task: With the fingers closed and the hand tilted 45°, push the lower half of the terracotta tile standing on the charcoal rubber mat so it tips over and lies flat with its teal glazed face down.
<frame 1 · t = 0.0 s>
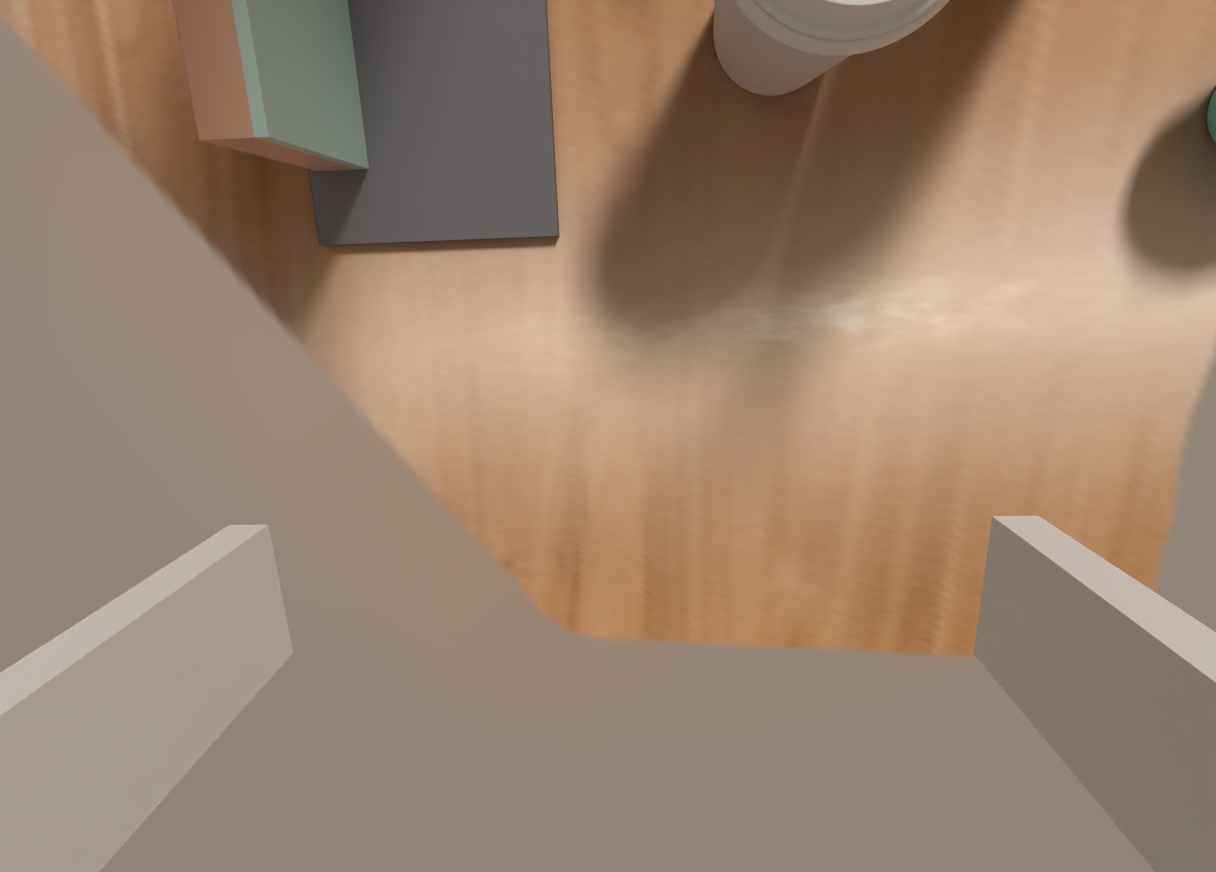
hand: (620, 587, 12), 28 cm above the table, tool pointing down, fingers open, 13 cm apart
coffee cup: (774, 29, 34), on the table
mat: (423, 69, 35), on the table
tile: (329, 71, 35), point 1 cm above the table, touching mat
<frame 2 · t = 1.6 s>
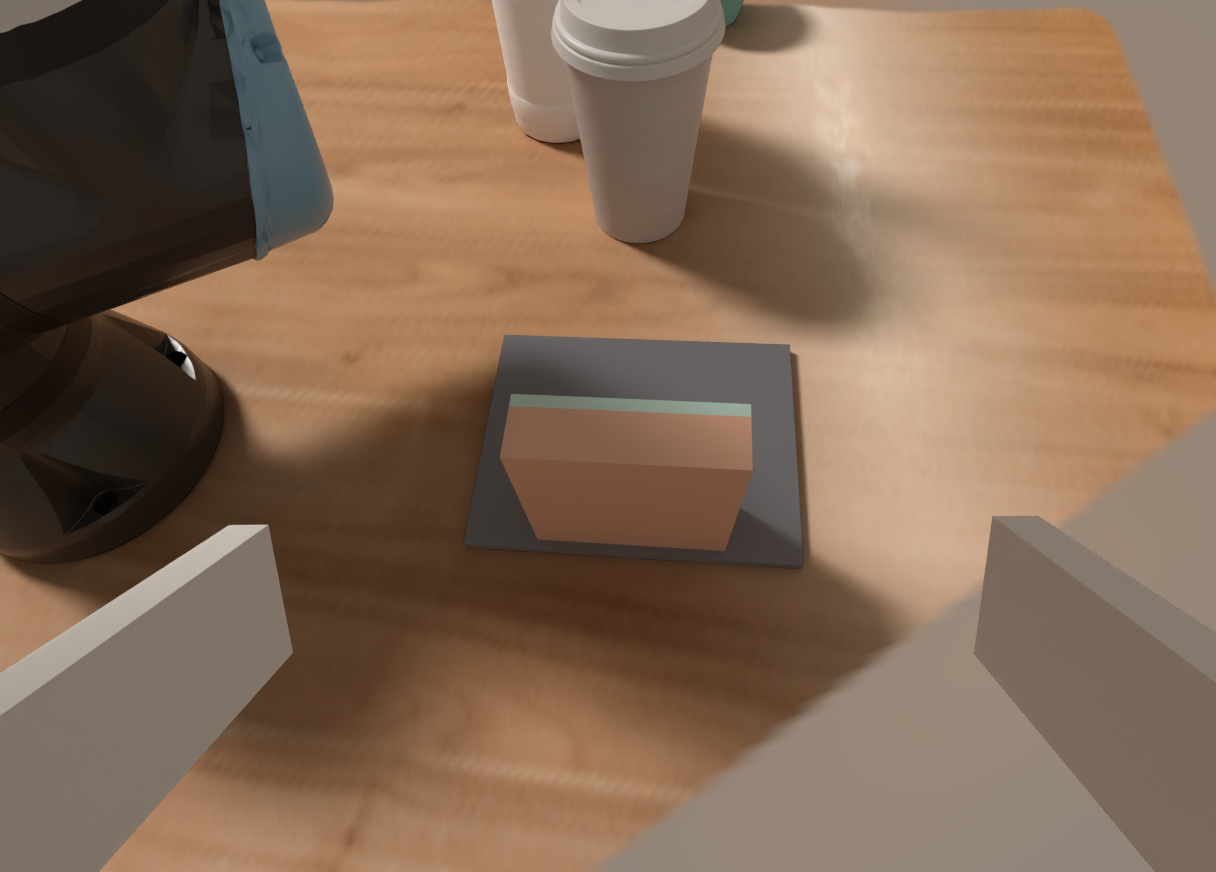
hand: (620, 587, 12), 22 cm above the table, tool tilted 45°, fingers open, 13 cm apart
bottle: (562, 115, 52), on the table
cupcake: (711, 16, 58), on the table
coffee cup: (640, 212, 47), on the table
mat: (637, 442, 38), on the table
tile: (631, 518, 35), point 1 cm above the table, touching mat
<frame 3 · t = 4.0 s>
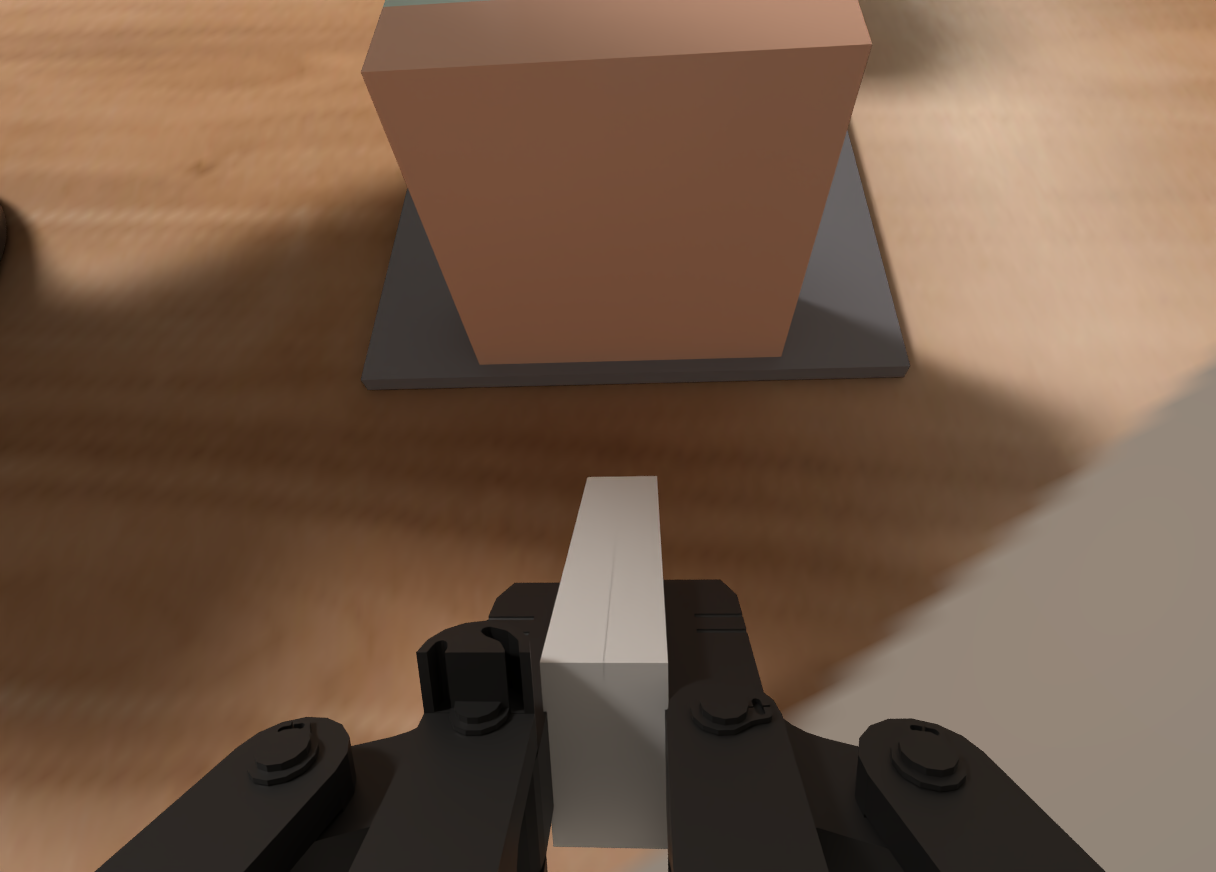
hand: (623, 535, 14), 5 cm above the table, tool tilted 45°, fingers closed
mat: (628, 233, 25), on the table
tile: (628, 325, 22), point 1 cm above the table, touching mat
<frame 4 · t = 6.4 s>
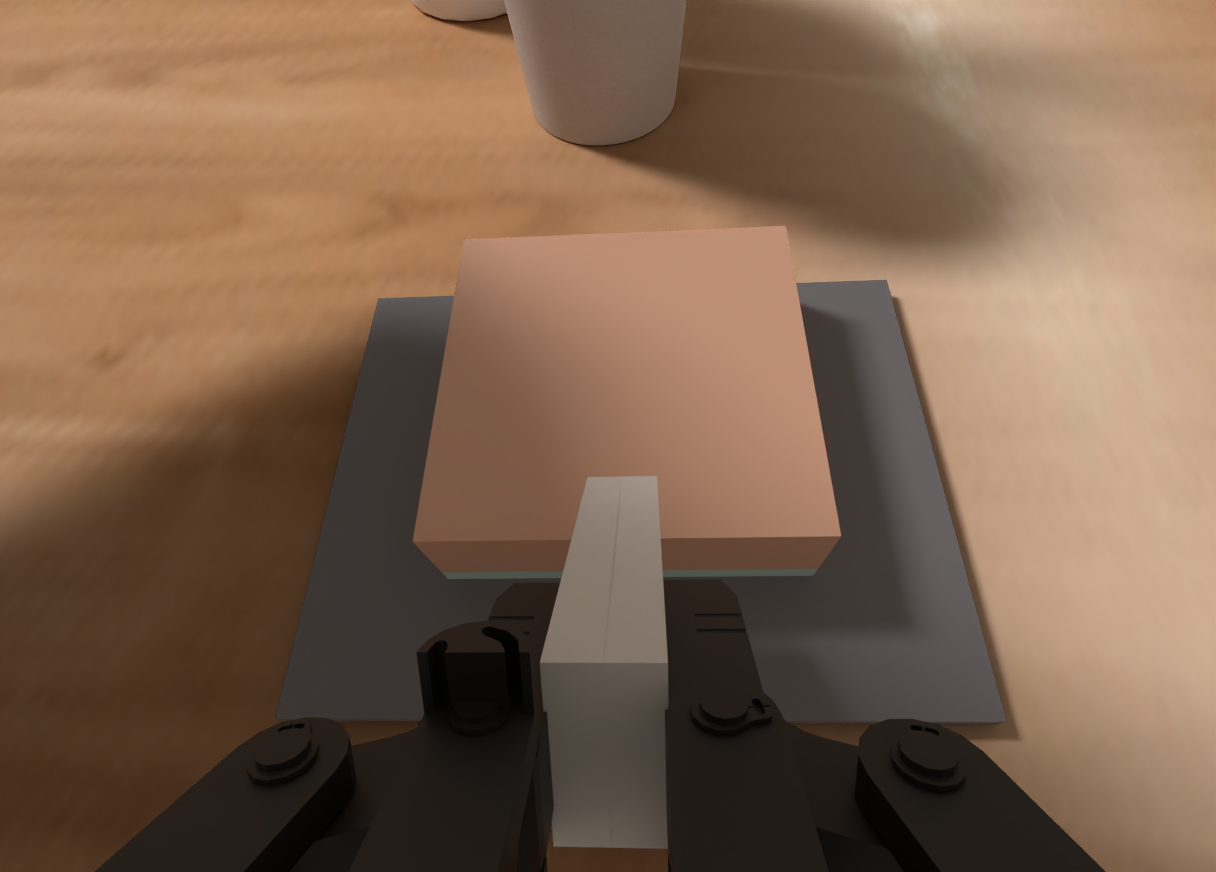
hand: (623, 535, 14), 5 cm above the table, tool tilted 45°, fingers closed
coffee cup: (604, 104, 29), on the table
mat: (627, 474, 20), on the table
tile: (625, 559, 16), point 2 cm above the table, tilted 90°, touching mat
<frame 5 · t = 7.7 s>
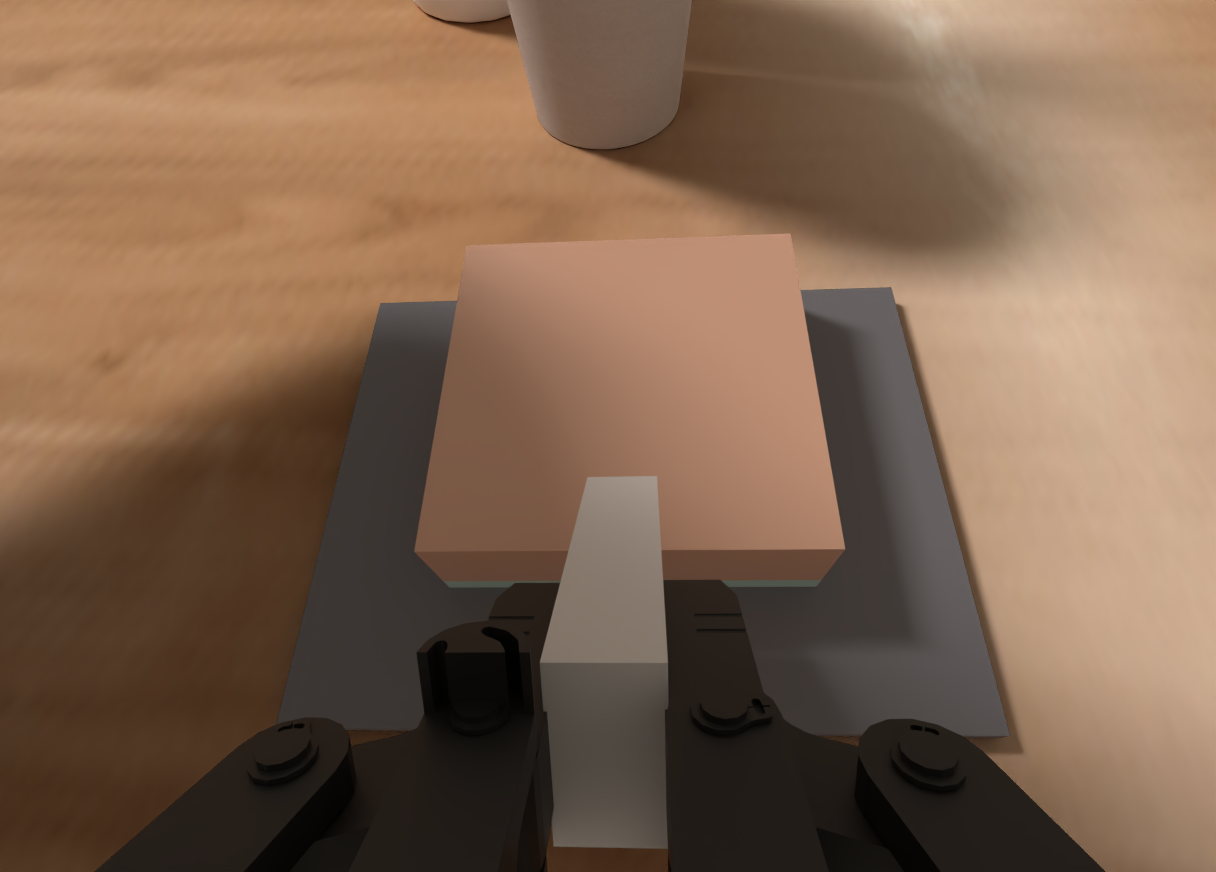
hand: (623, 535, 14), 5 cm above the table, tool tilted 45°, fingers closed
coffee cup: (607, 107, 29), on the table
mat: (630, 482, 20), on the table
tile: (627, 570, 16), point 2 cm above the table, tilted 90°, touching mat
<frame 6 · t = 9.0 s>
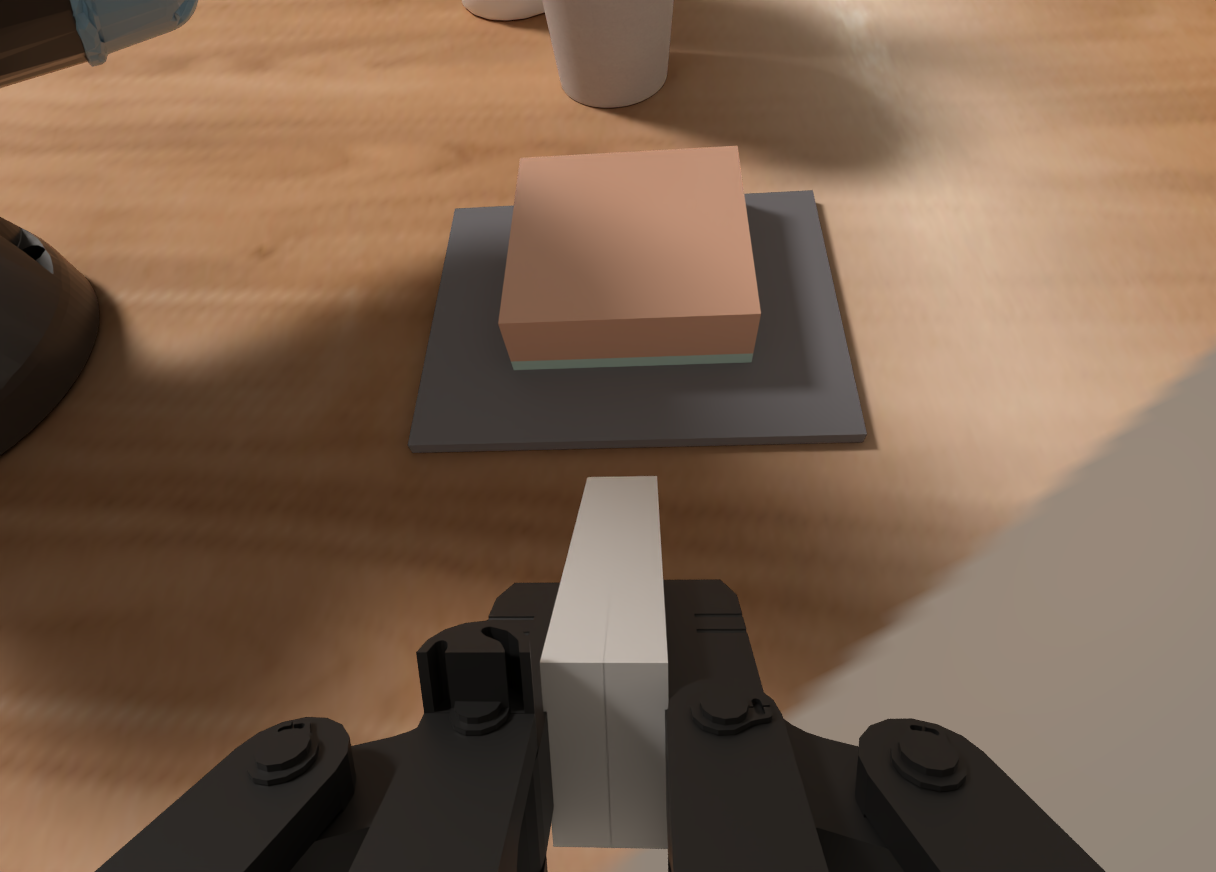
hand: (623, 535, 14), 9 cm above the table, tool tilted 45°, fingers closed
coffee cup: (613, 79, 39), on the table
mat: (631, 313, 29), on the table
tile: (629, 343, 26), point 2 cm above the table, tilted 90°, touching mat
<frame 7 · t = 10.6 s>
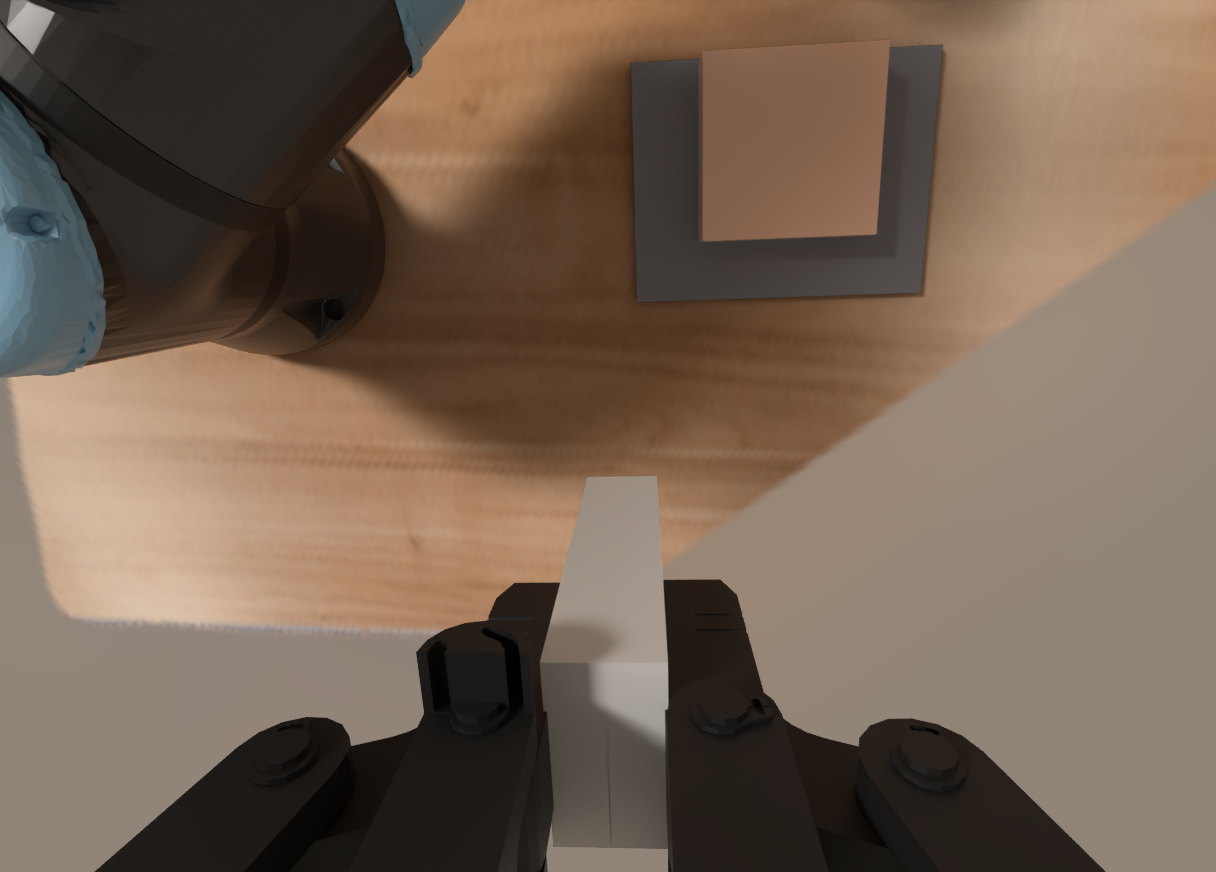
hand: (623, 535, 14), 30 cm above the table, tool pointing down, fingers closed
mat: (778, 182, 40), on the table
tile: (783, 238, 39), point 2 cm above the table, tilted 90°, touching mat
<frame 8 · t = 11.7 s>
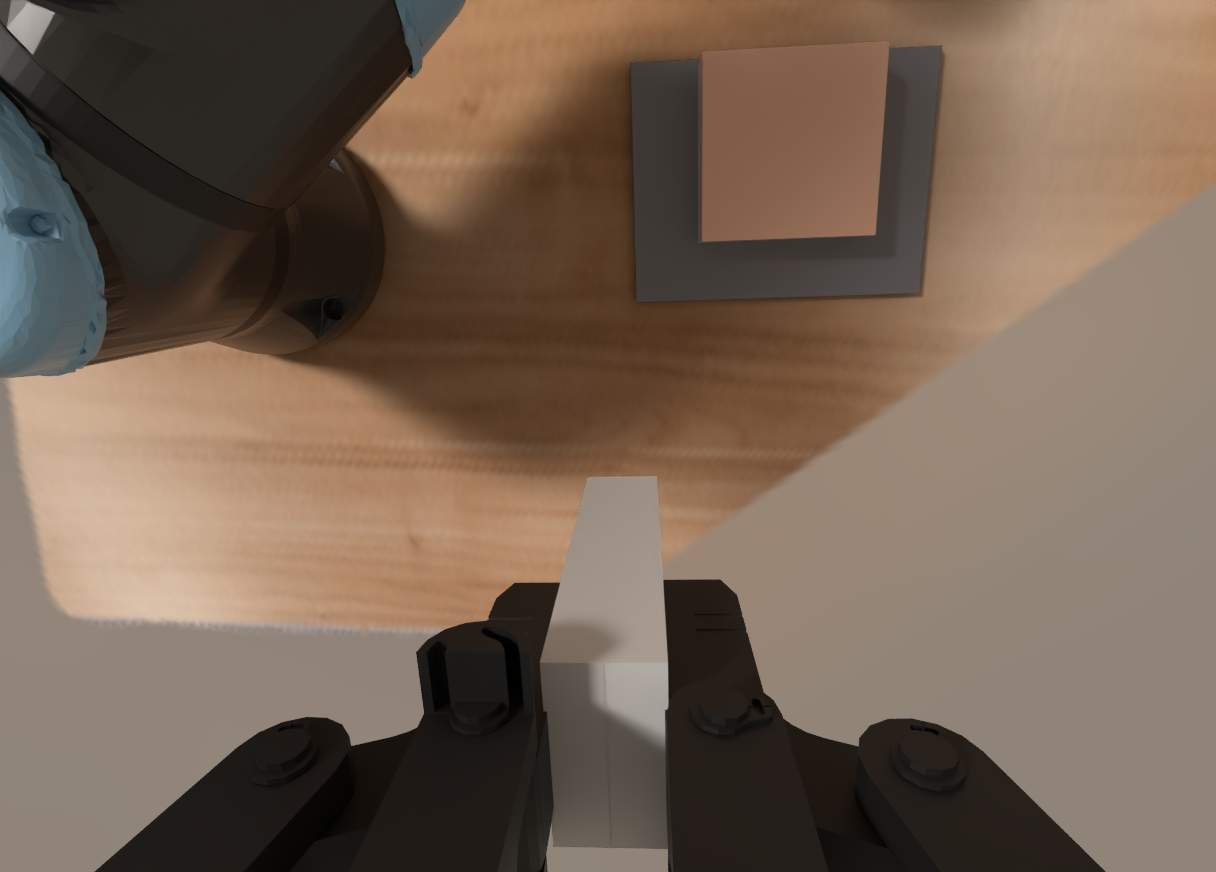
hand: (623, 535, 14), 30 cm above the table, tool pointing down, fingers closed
mat: (777, 182, 40), on the table
tile: (782, 239, 39), point 2 cm above the table, tilted 90°, touching mat
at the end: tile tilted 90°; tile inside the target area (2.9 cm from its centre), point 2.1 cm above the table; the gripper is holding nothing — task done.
